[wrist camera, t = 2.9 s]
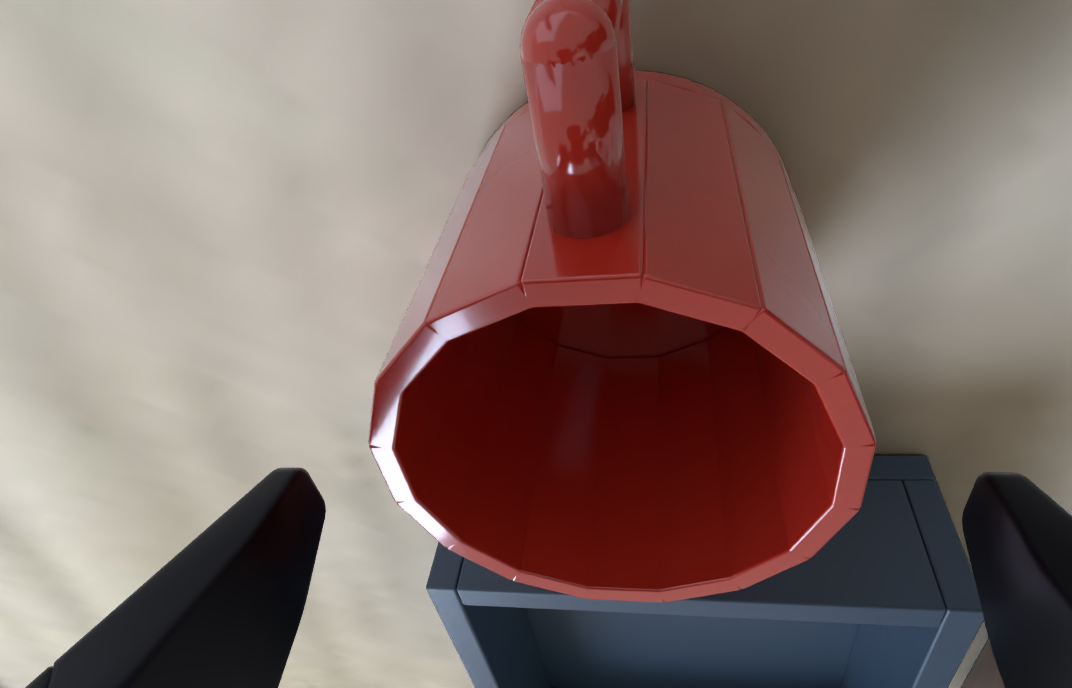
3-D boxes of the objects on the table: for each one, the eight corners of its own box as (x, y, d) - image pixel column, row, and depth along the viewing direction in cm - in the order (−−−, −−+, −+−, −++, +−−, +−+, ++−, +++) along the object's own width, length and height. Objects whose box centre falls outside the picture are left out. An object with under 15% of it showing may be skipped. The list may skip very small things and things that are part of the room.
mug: (779, 348, 16) (836, 611, 11) (499, 356, 17) (437, 594, 12) (827, -130, 10) (997, -24, 5) (392, -59, 11) (191, 79, 6)
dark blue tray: (927, 454, 17) (990, 612, 14) (848, 695, 27) (875, 823, 23) (461, 454, 20) (424, 588, 17) (537, 674, 29) (523, 787, 26)
